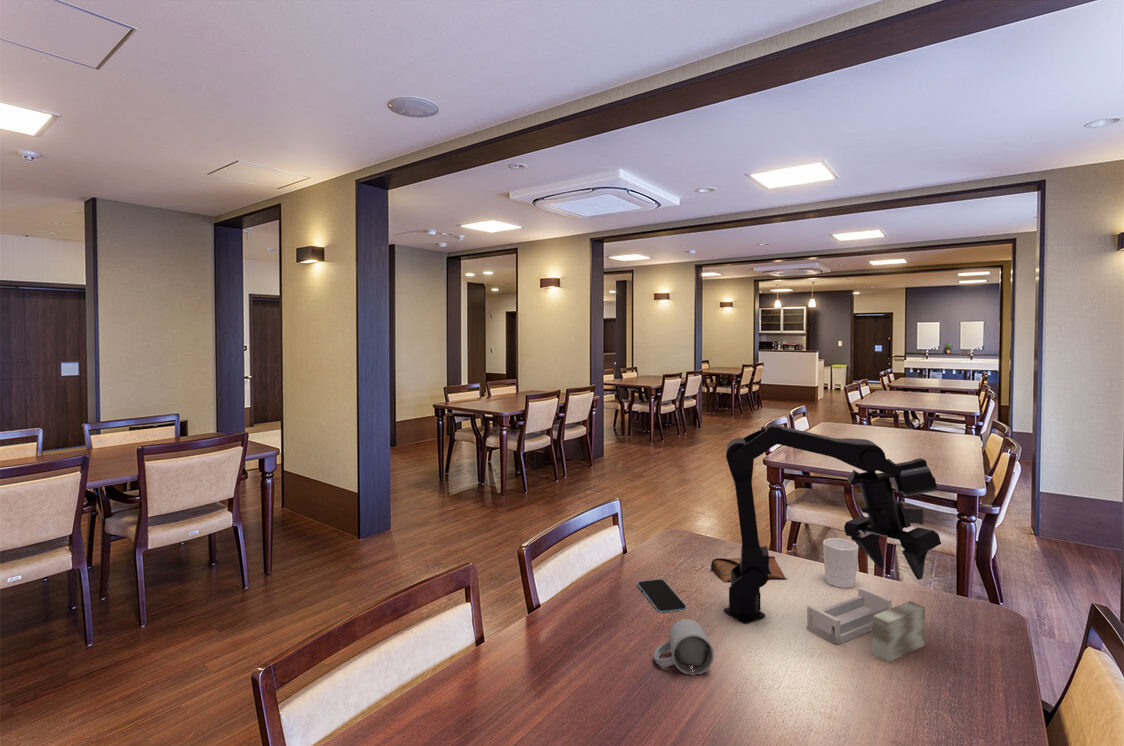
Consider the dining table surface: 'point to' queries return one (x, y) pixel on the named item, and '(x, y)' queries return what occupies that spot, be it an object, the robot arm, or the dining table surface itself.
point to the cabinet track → (847, 617)
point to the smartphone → (661, 595)
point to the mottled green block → (898, 631)
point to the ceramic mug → (687, 648)
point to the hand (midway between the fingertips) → (899, 572)
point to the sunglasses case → (725, 566)
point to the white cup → (840, 562)
